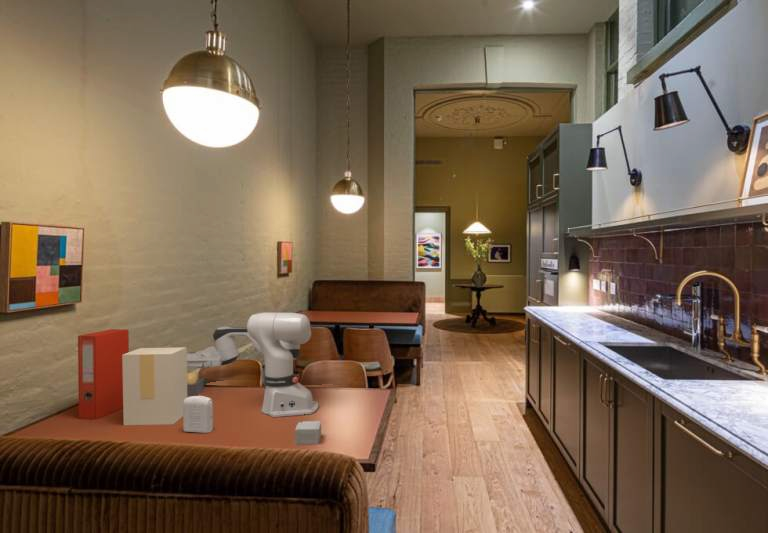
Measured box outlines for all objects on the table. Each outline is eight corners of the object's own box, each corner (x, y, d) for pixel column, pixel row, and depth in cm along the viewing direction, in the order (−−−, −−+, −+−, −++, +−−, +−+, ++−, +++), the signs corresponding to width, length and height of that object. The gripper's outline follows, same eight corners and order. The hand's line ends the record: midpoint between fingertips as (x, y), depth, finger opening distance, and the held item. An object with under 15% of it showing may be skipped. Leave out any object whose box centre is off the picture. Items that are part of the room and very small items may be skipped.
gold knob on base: (197, 395, 204) (196, 374, 204) (178, 396, 204) (178, 375, 203) (212, 383, 225) (211, 364, 225) (195, 383, 224) (195, 364, 224)
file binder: (129, 405, 191) (128, 329, 191) (97, 419, 174) (95, 336, 174) (113, 404, 192) (111, 329, 192) (78, 418, 175) (77, 335, 175)
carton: (187, 412, 181) (186, 347, 181) (172, 424, 168) (171, 354, 167) (141, 413, 181) (140, 348, 180) (123, 425, 167) (122, 354, 167)
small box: (318, 444, 148) (318, 429, 148) (294, 445, 148) (294, 429, 148) (321, 435, 156) (321, 420, 156) (298, 436, 156) (298, 421, 155)
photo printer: (215, 429, 162) (214, 394, 162) (208, 433, 158) (208, 398, 158) (188, 428, 164) (187, 393, 164) (181, 432, 160) (180, 397, 160)
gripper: (226, 365, 223) (216, 372, 210) (184, 365, 223) (171, 373, 209) (226, 352, 223) (215, 358, 209) (184, 353, 223) (171, 359, 209)
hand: (193, 365), depth 209 cm, fingers open, 8 cm apart
